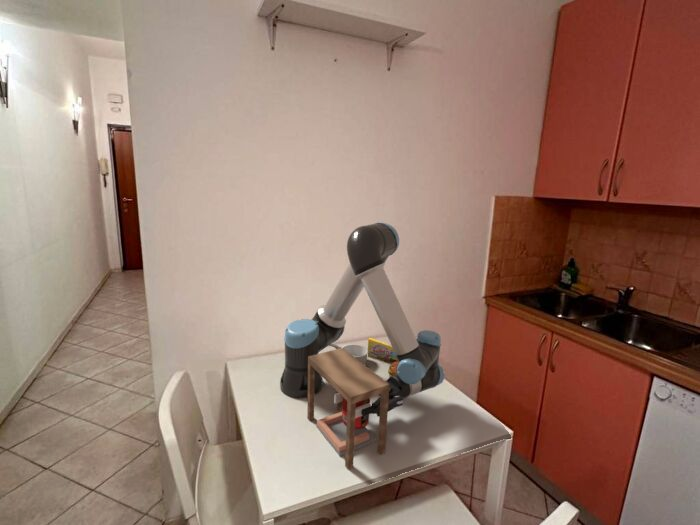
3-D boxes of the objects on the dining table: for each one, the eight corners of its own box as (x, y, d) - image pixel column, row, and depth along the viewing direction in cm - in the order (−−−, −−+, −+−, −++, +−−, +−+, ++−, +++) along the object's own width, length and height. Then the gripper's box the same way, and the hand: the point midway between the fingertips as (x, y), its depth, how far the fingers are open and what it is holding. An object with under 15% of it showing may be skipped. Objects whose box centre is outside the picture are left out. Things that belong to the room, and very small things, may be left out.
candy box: (367, 356, 155) (367, 338, 153) (369, 355, 156) (370, 337, 155) (401, 368, 146) (402, 349, 144) (403, 366, 148) (405, 348, 146)
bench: (340, 406, 120) (342, 347, 115) (385, 452, 101) (389, 384, 96) (307, 418, 114) (308, 356, 109) (348, 469, 94) (351, 397, 89)
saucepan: (331, 348, 161) (331, 337, 160) (372, 360, 152) (373, 348, 150) (316, 359, 151) (317, 347, 150) (359, 372, 142) (360, 359, 140)
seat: (349, 414, 116) (350, 407, 116) (375, 441, 105) (376, 433, 104) (316, 426, 110) (316, 419, 109) (339, 456, 99) (340, 448, 98)
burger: (418, 378, 139) (419, 367, 138) (400, 385, 134) (401, 374, 133) (401, 367, 147) (401, 356, 146) (383, 373, 142) (383, 362, 141)
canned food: (366, 432, 103) (368, 397, 101) (339, 427, 105) (340, 393, 102) (370, 415, 111) (372, 383, 108) (344, 411, 112) (346, 379, 110)
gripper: (425, 413, 108) (362, 440, 96) (382, 380, 125) (324, 399, 113) (427, 390, 107) (363, 415, 95) (384, 360, 124) (325, 377, 112)
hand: (342, 406), depth 104 cm, fingers closed on canned food, 8 cm apart
